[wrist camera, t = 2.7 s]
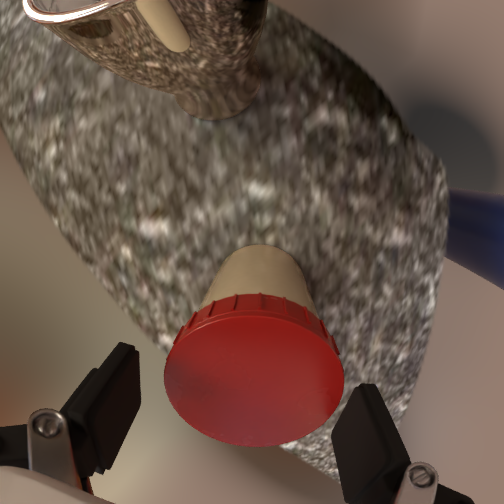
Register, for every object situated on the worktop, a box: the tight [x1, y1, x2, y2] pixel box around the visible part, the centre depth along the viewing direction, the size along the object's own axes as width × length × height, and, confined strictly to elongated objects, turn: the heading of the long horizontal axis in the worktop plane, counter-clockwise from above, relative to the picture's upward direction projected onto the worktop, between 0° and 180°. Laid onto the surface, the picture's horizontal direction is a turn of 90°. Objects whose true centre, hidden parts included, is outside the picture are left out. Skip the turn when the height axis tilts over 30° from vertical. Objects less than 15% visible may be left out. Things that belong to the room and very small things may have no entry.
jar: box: [198, 245, 319, 319], centre depth 16 cm, size 6×6×11 cm
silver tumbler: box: [22, 0, 268, 121], centre depth 10 cm, size 7×7×15 cm
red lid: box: [164, 292, 344, 447], centre depth 11 cm, size 7×7×2 cm
